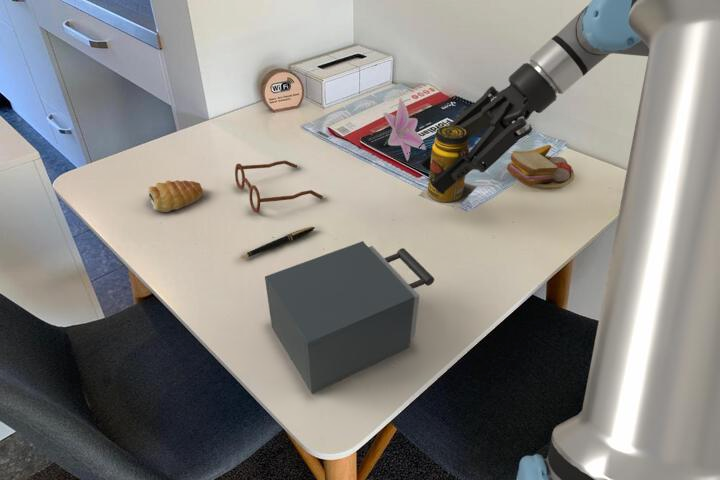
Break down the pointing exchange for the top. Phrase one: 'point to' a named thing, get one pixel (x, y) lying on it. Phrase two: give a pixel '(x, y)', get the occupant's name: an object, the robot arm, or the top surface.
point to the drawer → (416, 268)
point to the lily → (403, 130)
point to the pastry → (174, 194)
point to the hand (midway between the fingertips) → (430, 177)
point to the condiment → (445, 153)
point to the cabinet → (339, 314)
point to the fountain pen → (280, 241)
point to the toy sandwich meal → (540, 169)
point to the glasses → (244, 180)
